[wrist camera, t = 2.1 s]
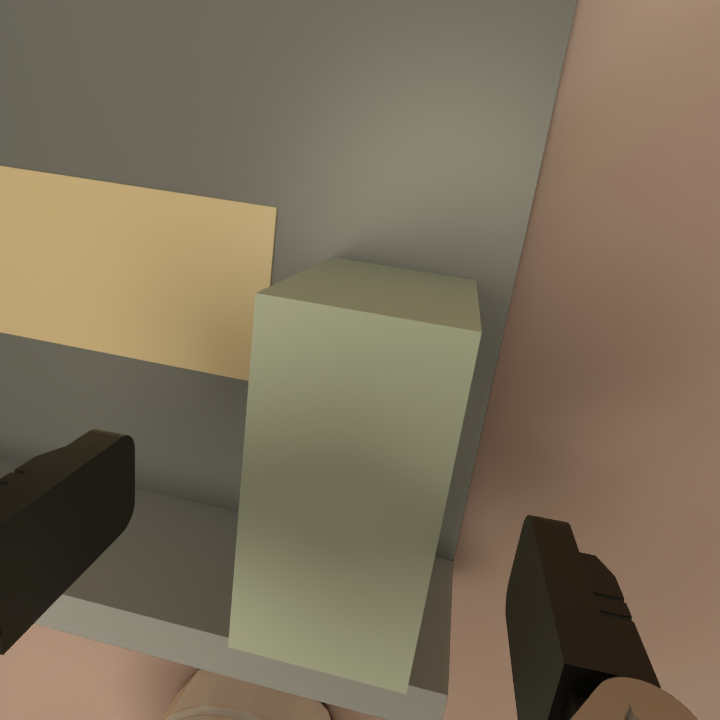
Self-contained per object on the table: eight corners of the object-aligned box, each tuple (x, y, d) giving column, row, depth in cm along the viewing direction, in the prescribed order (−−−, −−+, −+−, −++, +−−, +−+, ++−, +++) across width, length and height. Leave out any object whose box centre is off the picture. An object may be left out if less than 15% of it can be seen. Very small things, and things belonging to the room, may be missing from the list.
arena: (585, -52, 13) (667, -224, 8) (447, 576, 19) (438, 734, 13) (-78, -106, 16) (-371, -266, 10) (-28, 465, 21) (-200, 560, 16)
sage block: (476, 280, 15) (481, 332, 9) (426, 532, 18) (405, 694, 12) (332, 257, 16) (255, 292, 10) (303, 504, 18) (227, 647, 12)
